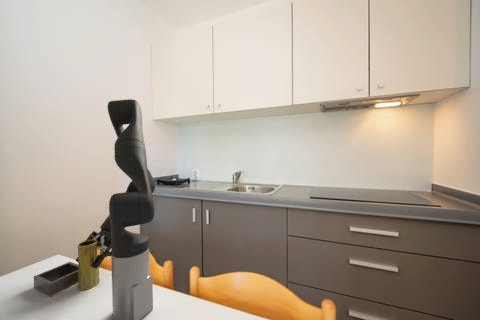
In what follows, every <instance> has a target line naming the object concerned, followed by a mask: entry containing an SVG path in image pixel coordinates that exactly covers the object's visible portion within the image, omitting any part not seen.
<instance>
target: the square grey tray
mask: <svg viewBox="0 0 480 320" xmlns="http://www.w3.org/2000/svg"><path fill="white" fill-rule="evenodd" d="M75 285H78V264H77V263H75V262H72V261H69V262H66V263H64V264H61V265H58V266H56V267H54V268H53V267H52V268H51V269H49V270H46V271H43V272H41V273H38V274H36V275H33V289H34V290H36V291H38V292H40V293H42V294H44V295H46V296H48V297H49V298H51V297H53V296H55V295H57V294H59V293H61V292H63V291H65V290H67V289H68V288H69V289H70V288H71V287H73V286H75Z"/></svg>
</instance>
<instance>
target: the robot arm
mask: <svg viewBox="0 0 480 320" xmlns="http://www.w3.org/2000/svg"><path fill="white" fill-rule="evenodd" d="M107 112H108V113H107V114H108V115H109V119H110V121H111V124H112V127H113V129H114V132H115V135H116V137H117V139H115V141H114V161H115V163H116V165H117V167H118V168H119V169H120V170H121V171H122V173H124V174H125V175H126V176H127V177H128V178H130V180H131V181H130V182H129V184H128V186H127V188H126V190H125V192H117V193H114V194H112V195H111V196H110V198H109V201H108V202H109V203H108V211H109V212H108V213H109V215H108V216H107V217H106V218H105V219H104V221H103V222H102V223H101V225H100V227H99V228H100V229H101V230H100V231H99V232H97V231H95V230H93V231H92V232H91V233H90V234H89V235H88V236H87V238H86V239H85V240H84V241H87V240H97V249H98V248H99V249H100V250H99V254H98V256H97V257H96V259H95V260H94V262H93V263H92V264H91V267H93V268H95V269H97V268H98V267H100V266H101V264H102V263H103V261H104V260H105V258H107V257H111V258H110V259H111V291H112V292H111V294H112V300H111V301H112V320H142V319H143V318H144V317H145V316H146V315H147V314H148V313H150V312H152V310H153V309H154V291H153V275H152V274H150V273H151V271H150V265H151V264H150V239H149V237H148V236H147V235H145V234H142V233H136V232H131V231H129V230H127V229H126V228H129V227H134V226H139V225H140V226H141V225H145V224H146V225H147V224H150V223H151V222H153V219H154V217H155V202H154V197H153V193H154V192H155V189H156V182H155V179H154V177H153V175H152V173H151V171H150V170H149V168H148V162H147V161H148V160H147V152H146V144H145V139H144V133H143V113H142V108H141V104H140V103H139V102H138V101H137V100H136V99H129V98H127V99H119V100H110V101H109V102H108V103H107ZM125 125H128V126H127V127H125V128H124V126H125ZM75 262H77V263H78V256H77V257H76V258H75Z"/></svg>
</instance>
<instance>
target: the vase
mask: <svg viewBox="0 0 480 320" xmlns="http://www.w3.org/2000/svg"><path fill="white" fill-rule="evenodd" d="M98 255H99V254H98V248H97V240H87V241H85V240H84V241H81V242H79V243H78V245H77V257H78V262H77V263H78V283H77V290H81V291H86V290H88V289H92V288H94V287H97V285H98V284H100V282H101V279H100V268H99V267H100V266H99V267H98V268H97V269H95V268H93V267H91V264H92V263H93V262H94V260H95V259H96V257H97V256H98Z"/></svg>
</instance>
